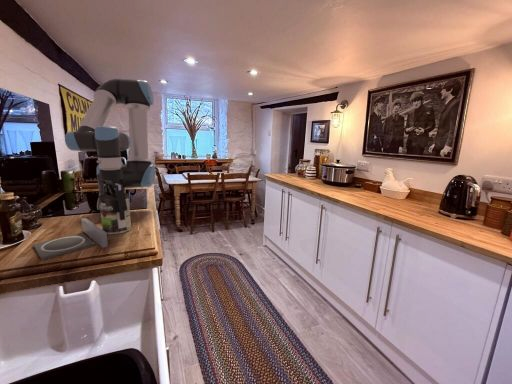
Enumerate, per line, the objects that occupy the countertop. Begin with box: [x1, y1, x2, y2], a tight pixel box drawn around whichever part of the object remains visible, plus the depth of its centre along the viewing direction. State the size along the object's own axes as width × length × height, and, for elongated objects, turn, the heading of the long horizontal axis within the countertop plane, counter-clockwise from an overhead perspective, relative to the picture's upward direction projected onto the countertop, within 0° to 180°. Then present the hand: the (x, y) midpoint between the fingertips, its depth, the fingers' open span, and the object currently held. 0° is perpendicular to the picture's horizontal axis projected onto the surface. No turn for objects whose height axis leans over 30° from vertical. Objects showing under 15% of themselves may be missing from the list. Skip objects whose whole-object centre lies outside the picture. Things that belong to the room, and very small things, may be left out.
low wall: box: [80, 217, 109, 249], centre depth 91 cm, size 22×2×5 cm, turn 49°
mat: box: [32, 232, 96, 261], centre depth 84 cm, size 14×14×1 cm
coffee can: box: [97, 193, 132, 235], centre depth 98 cm, size 10×10×14 cm
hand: (116, 224), depth 99 cm, fingers closed on coffee can, 10 cm apart
